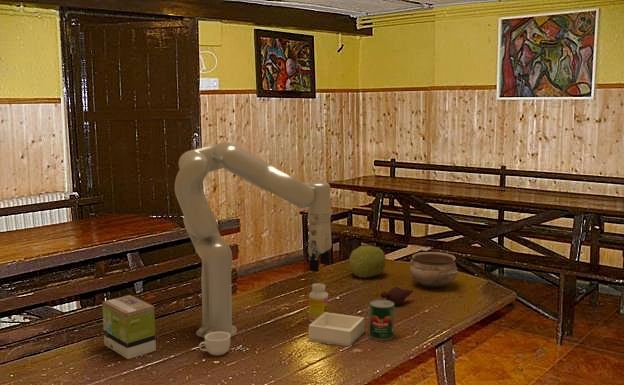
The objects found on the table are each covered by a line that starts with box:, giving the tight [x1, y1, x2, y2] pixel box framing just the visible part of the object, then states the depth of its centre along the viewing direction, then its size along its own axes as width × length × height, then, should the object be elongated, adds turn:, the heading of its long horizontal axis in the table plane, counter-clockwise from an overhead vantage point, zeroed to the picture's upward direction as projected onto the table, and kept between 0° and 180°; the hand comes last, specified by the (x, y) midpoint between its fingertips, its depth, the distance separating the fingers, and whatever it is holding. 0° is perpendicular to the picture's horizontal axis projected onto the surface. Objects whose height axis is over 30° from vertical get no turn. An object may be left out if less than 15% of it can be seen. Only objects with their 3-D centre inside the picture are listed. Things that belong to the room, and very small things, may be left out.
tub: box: [308, 311, 366, 348], centre depth 215 cm, size 14×14×5 cm
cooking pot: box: [409, 251, 459, 289], centre depth 271 cm, size 25×19×12 cm
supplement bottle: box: [308, 282, 329, 323], centre depth 229 cm, size 7×7×13 cm
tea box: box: [101, 294, 157, 360], centre depth 204 cm, size 15×10×15 cm, turn 45°
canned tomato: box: [368, 299, 395, 341], centre depth 216 cm, size 8×8×11 cm
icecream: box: [380, 285, 414, 306], centre depth 248 cm, size 7×8×15 cm
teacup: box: [198, 331, 231, 356], centre depth 201 cm, size 10×8×5 cm
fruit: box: [348, 244, 387, 279], centre depth 285 cm, size 16×14×15 cm
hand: (319, 267), depth 227 cm, fingers open, 9 cm apart
